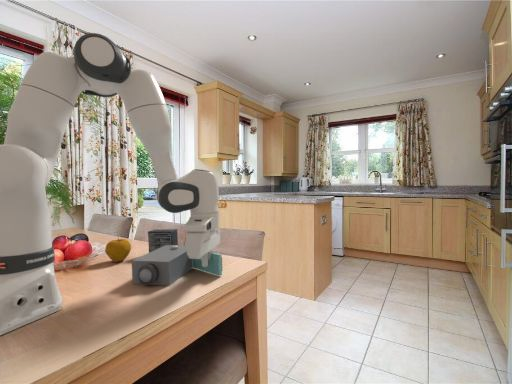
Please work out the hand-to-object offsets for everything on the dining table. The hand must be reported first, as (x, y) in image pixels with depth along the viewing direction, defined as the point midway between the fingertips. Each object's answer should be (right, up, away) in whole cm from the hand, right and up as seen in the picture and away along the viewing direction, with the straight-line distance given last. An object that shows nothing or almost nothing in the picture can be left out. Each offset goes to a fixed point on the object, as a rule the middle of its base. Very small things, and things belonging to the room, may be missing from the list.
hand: (206, 265), depth 84 cm
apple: (-38, -4, +20) cm, 43 cm away
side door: (-1, -3, +5) cm, 6 cm away
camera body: (-14, -4, +3) cm, 15 cm away
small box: (-23, -4, +29) cm, 37 cm away
